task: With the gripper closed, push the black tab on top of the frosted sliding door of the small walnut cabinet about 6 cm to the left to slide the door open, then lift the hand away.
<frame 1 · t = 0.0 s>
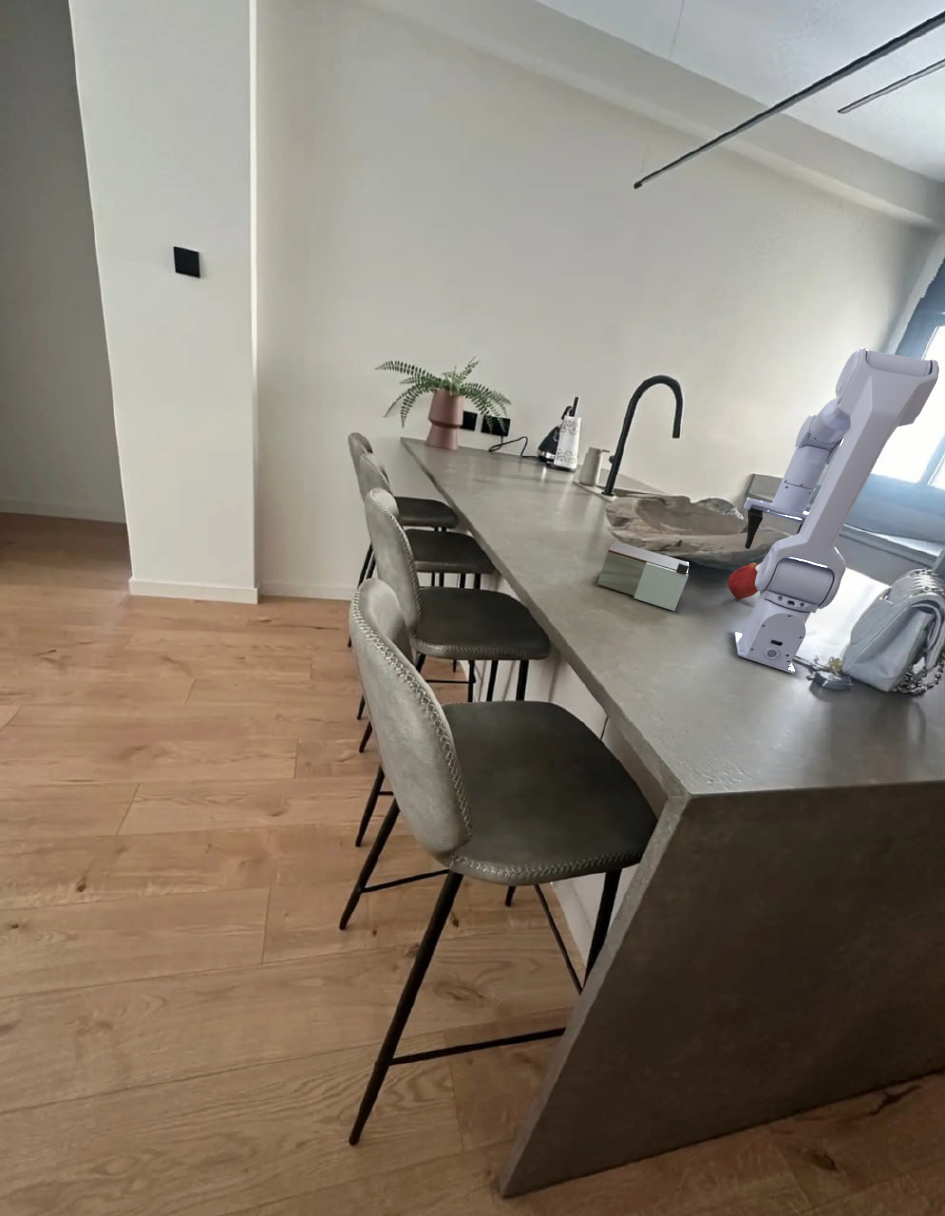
hand: (767, 553, 104), 10 cm above the table, tool pointing down, fingers open, 7 cm apart
sliding door: (662, 582, 91), point 4 cm above the table, slide at 0.0 cm
cabinet: (636, 590, 99), on the table
onion: (736, 600, 107), on the table
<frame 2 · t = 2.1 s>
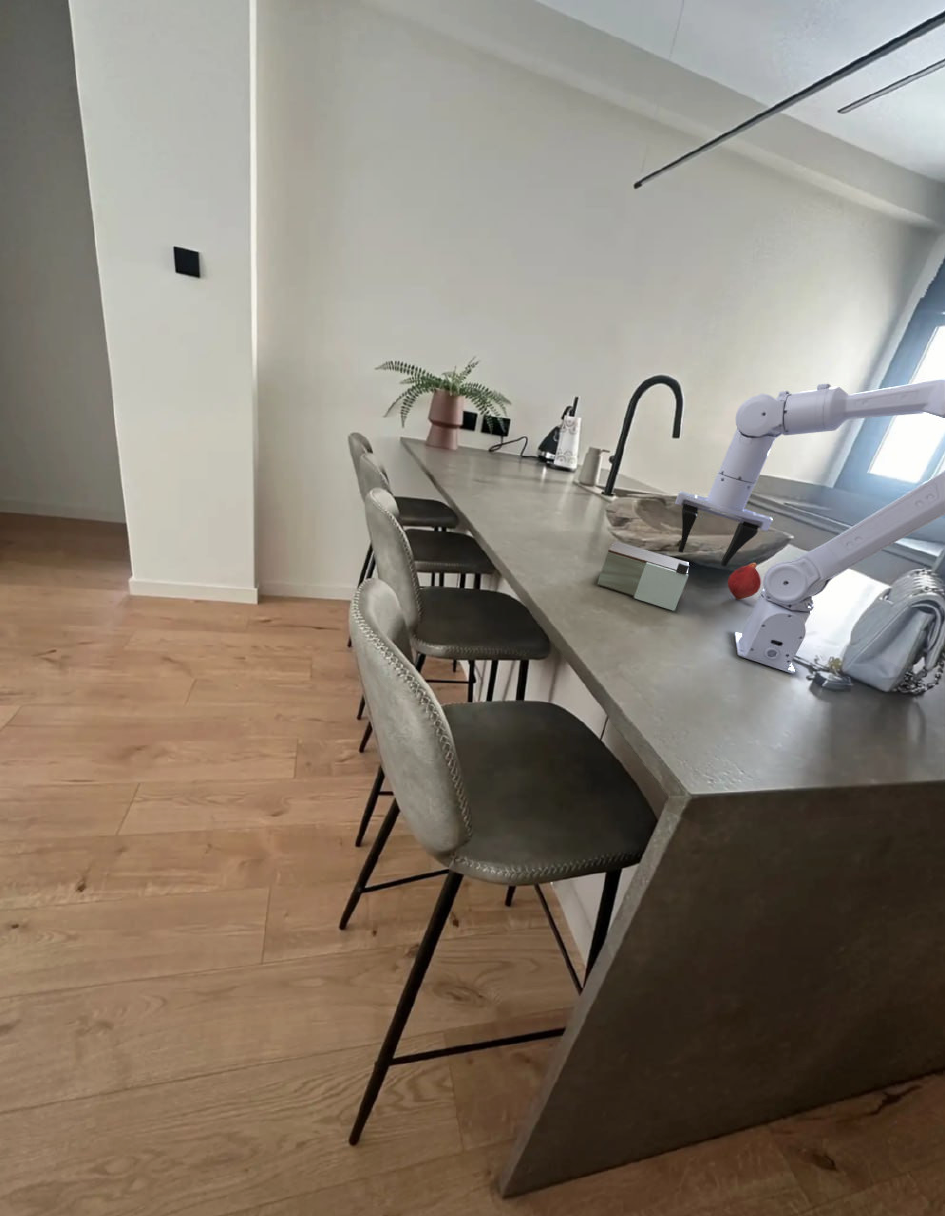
hand: (701, 557, 88), 10 cm above the table, tool pointing down, fingers open, 6 cm apart
nothing on the table moved.
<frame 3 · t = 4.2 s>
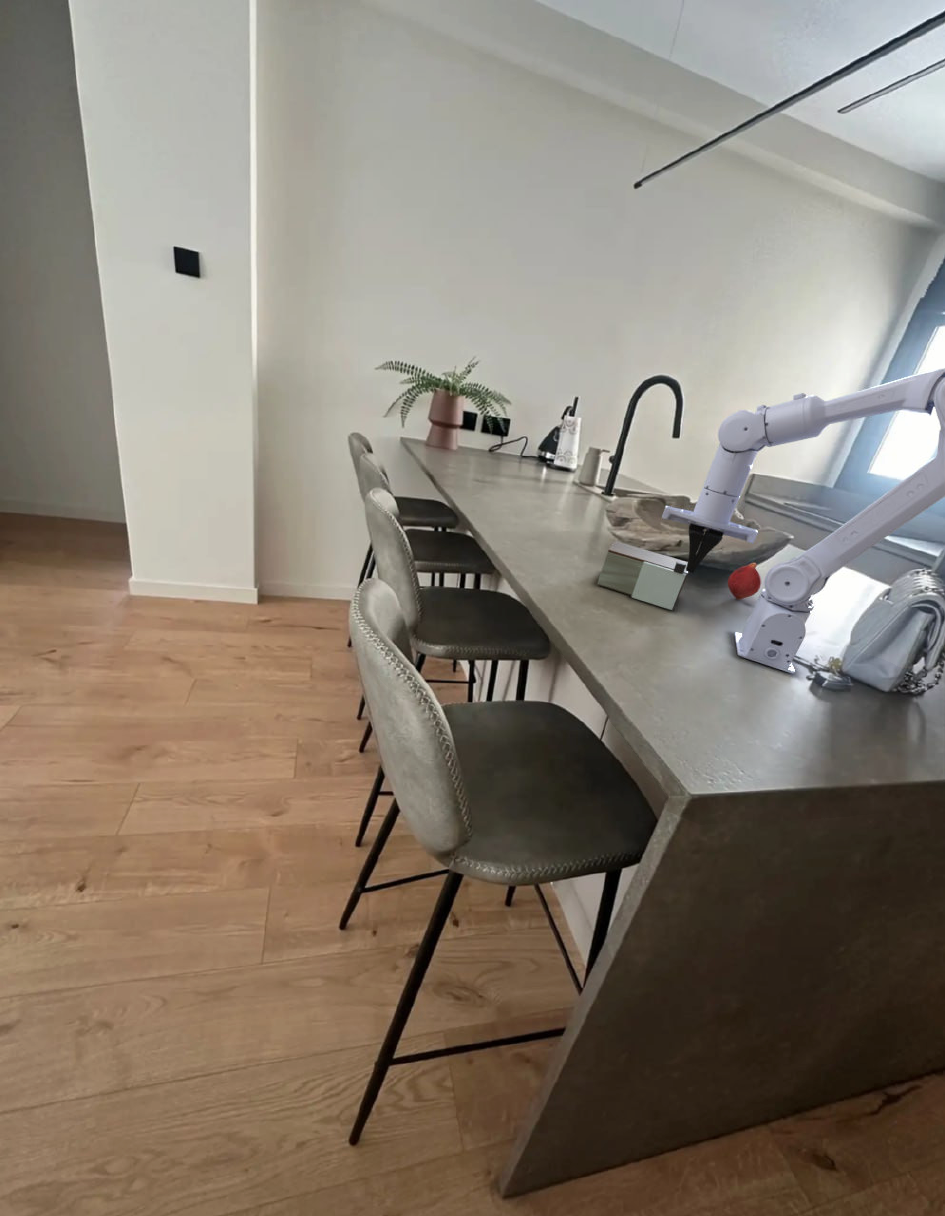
hand: (689, 570, 89), 8 cm above the table, tool pointing down, fingers closed
sliding door: (659, 581, 92), point 4 cm above the table, slide at 0.4 cm, touching gripper
everything else where it was.
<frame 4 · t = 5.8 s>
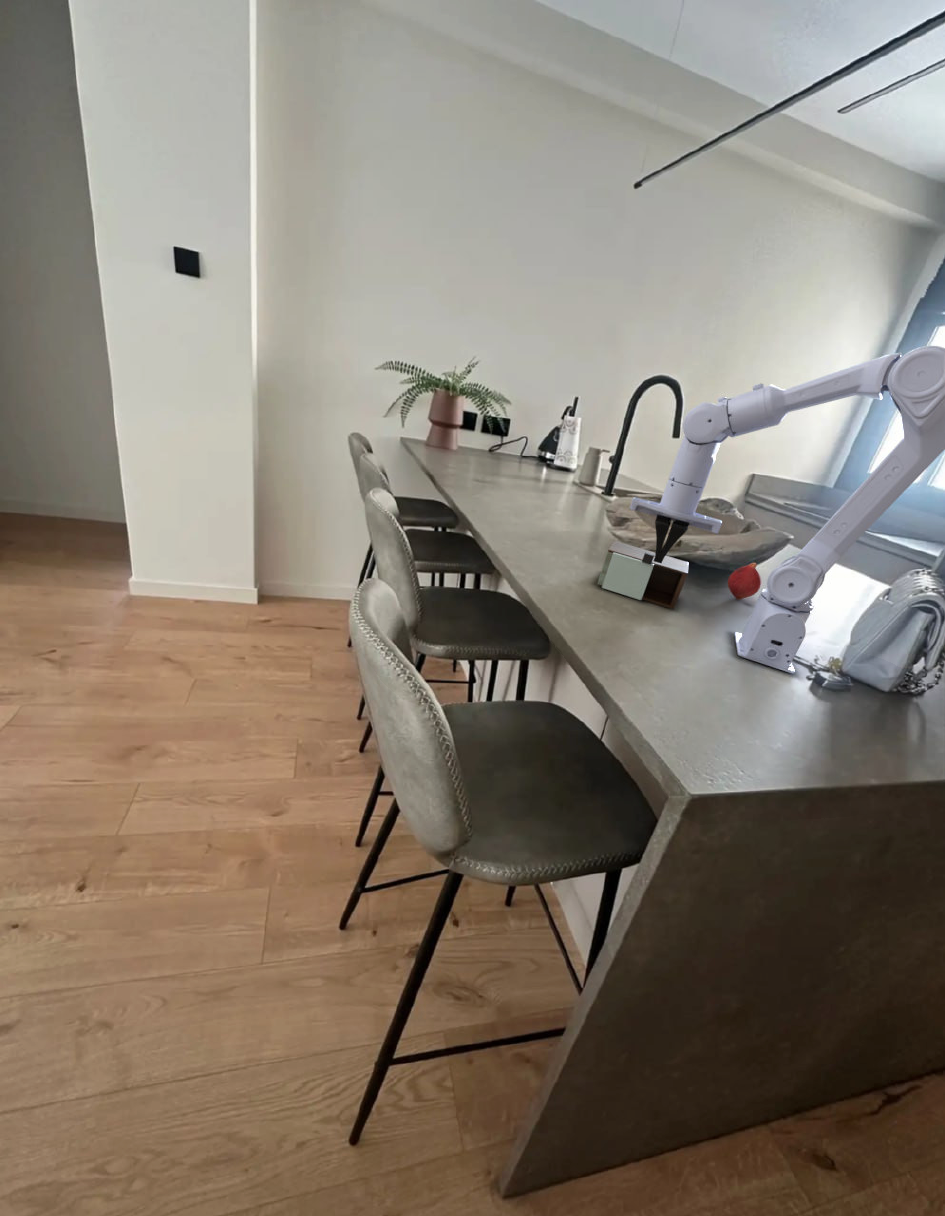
hand: (657, 561, 91), 8 cm above the table, tool pointing down, fingers closed
sliding door: (628, 572, 93), point 4 cm above the table, slide at 5.9 cm, touching gripper
everything else where it was.
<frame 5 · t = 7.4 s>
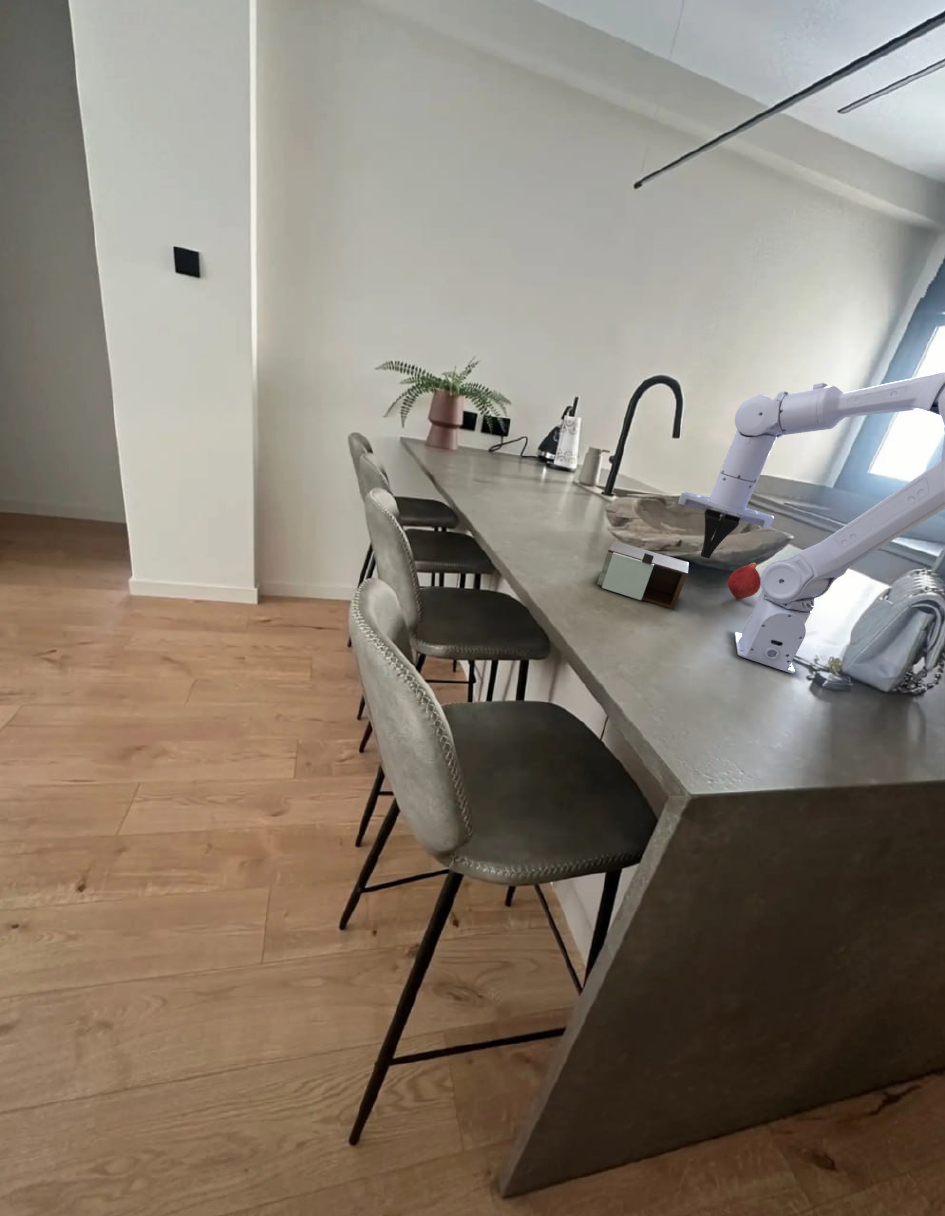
hand: (704, 556, 90), 10 cm above the table, tool pointing down, fingers closed
sliding door: (628, 572, 93), point 4 cm above the table, slide at 5.9 cm
everything else where it was.
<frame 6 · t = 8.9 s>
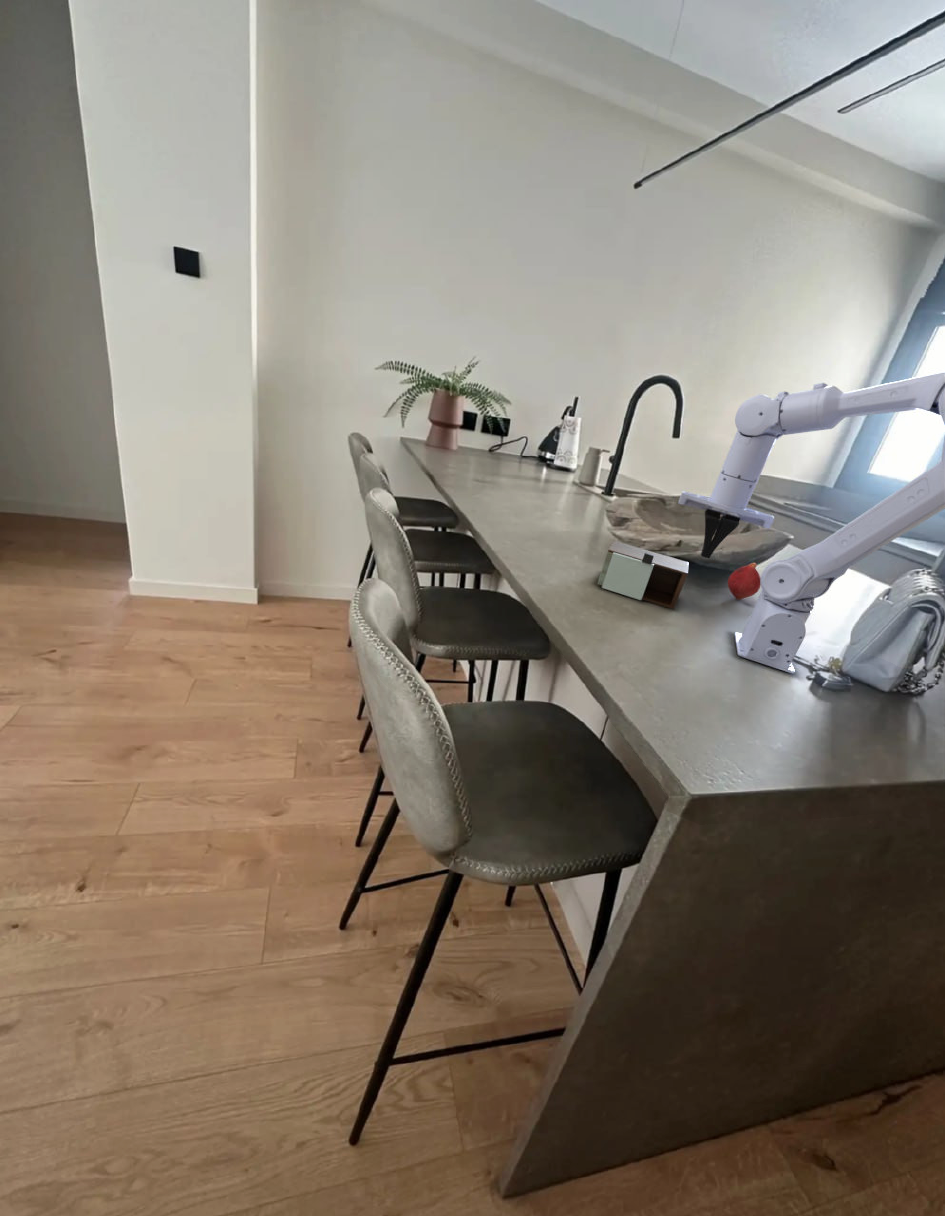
hand: (705, 556, 90), 10 cm above the table, tool pointing down, fingers closed
nothing on the table moved.
at the end: sliding door slide at 5.9 cm; the gripper is holding nothing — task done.
